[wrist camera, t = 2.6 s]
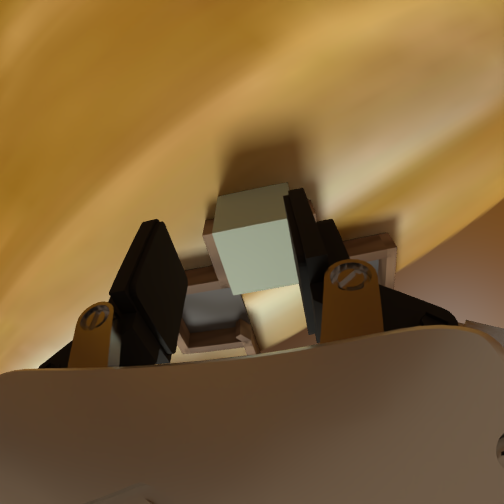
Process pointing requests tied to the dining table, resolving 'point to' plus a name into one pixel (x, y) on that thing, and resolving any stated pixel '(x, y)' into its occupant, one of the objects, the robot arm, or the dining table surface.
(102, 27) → the dining table surface
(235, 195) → the block
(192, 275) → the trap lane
